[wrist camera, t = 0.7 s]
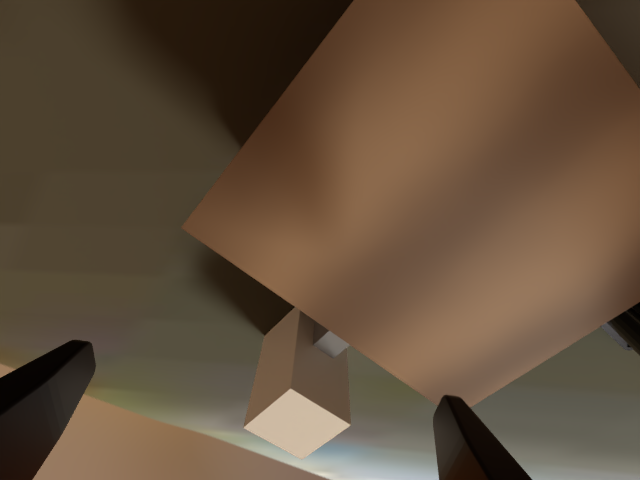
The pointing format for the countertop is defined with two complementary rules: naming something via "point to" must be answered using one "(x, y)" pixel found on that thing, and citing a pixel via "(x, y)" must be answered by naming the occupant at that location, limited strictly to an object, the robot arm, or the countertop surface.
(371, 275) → the brown wooden slab
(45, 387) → the robot arm
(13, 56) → the countertop surface
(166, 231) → the countertop surface
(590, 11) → the countertop surface
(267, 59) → the countertop surface
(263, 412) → the cube on a stick
